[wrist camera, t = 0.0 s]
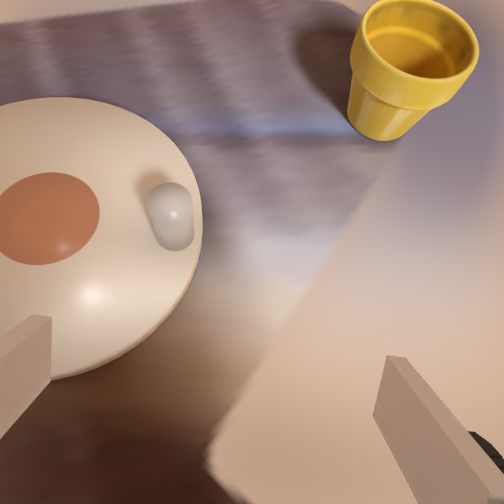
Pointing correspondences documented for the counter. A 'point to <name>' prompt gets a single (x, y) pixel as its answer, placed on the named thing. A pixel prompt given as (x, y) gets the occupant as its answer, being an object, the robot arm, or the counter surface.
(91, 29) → the counter surface
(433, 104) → the plant pot
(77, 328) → the disc
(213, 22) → the counter surface
